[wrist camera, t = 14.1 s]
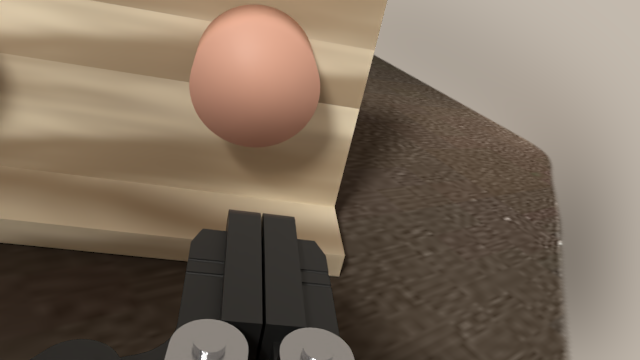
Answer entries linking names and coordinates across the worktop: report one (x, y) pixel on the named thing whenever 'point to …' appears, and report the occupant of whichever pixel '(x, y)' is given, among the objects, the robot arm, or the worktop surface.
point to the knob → (254, 77)
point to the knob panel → (161, 127)
